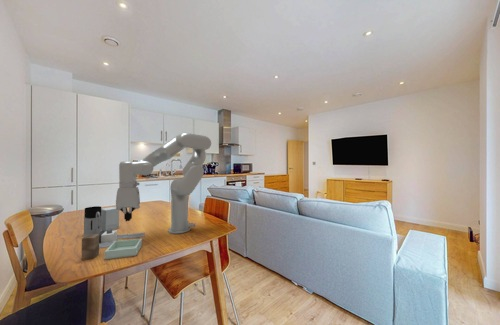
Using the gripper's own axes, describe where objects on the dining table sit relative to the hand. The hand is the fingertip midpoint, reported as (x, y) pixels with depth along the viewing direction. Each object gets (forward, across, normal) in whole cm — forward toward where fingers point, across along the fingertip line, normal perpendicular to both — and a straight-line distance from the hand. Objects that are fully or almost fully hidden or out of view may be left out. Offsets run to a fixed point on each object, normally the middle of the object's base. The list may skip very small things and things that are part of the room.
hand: (128, 220), depth 101 cm
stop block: (+10, +10, +15) cm, 21 cm away
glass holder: (+11, +20, -15) cm, 27 cm away
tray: (+11, -2, +14) cm, 18 cm away
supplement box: (+11, +16, -25) cm, 32 cm away
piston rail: (+11, +3, 0) cm, 11 cm away
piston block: (+10, +8, 0) cm, 13 cm away
